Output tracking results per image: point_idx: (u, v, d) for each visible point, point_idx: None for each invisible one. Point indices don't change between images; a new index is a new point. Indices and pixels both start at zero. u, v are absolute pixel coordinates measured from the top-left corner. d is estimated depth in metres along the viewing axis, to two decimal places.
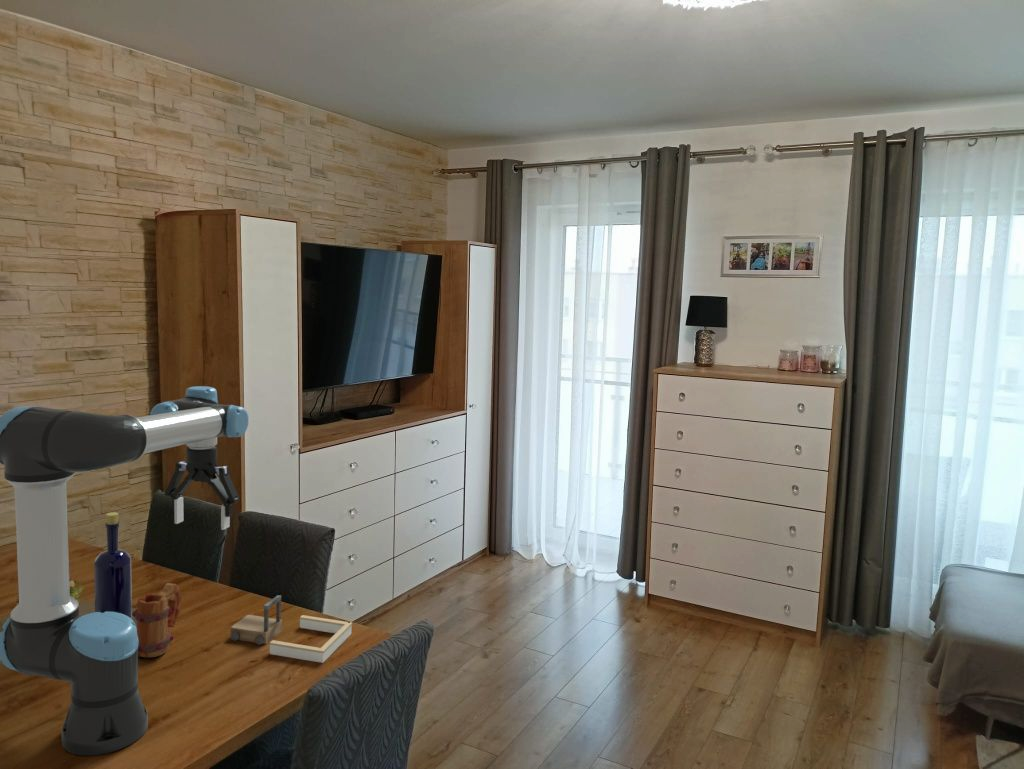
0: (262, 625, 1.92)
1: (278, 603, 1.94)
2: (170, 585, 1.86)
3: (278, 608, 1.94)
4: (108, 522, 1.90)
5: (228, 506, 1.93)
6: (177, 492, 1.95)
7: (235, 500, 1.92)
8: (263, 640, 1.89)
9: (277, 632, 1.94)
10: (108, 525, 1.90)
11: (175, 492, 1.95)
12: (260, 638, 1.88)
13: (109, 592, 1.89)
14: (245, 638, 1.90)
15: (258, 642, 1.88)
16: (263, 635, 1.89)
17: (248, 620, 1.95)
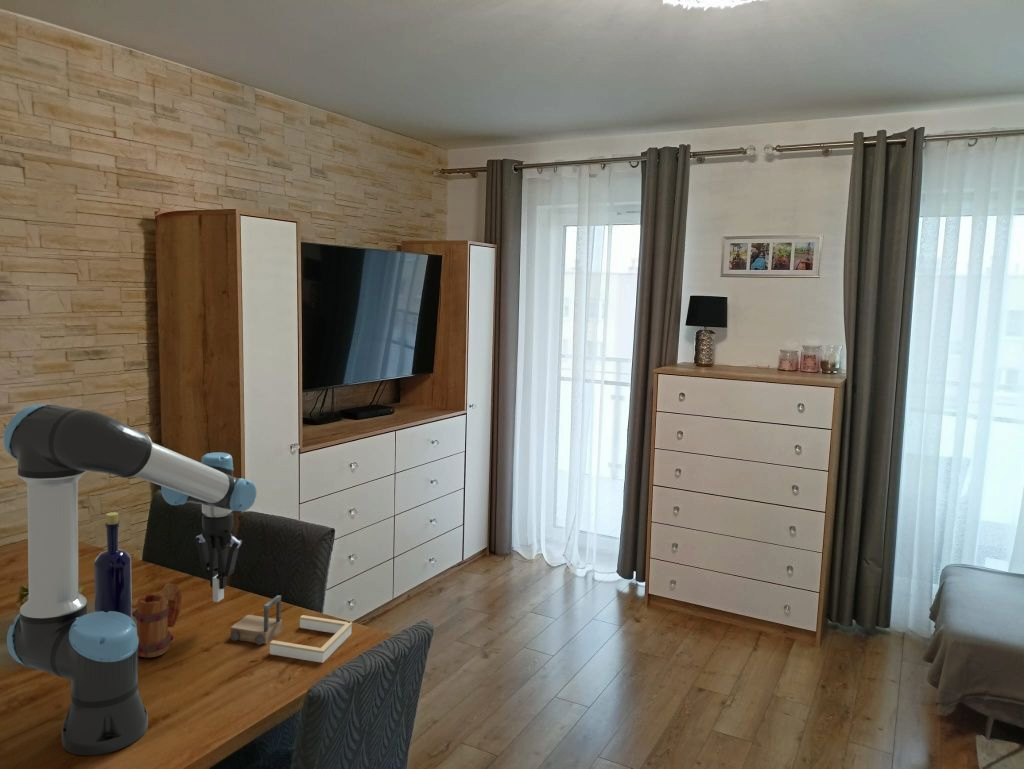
0: (262, 625, 1.92)
1: (278, 603, 1.94)
2: (170, 585, 1.86)
3: (278, 608, 1.94)
4: (108, 522, 1.90)
5: (222, 578, 1.94)
6: (211, 567, 1.93)
7: (229, 573, 1.93)
8: (263, 641, 1.89)
9: (277, 632, 1.94)
10: (108, 525, 1.90)
11: (210, 569, 1.93)
12: (260, 638, 1.88)
13: (109, 592, 1.89)
14: (245, 638, 1.90)
15: (258, 642, 1.88)
16: (263, 635, 1.89)
17: (248, 620, 1.95)
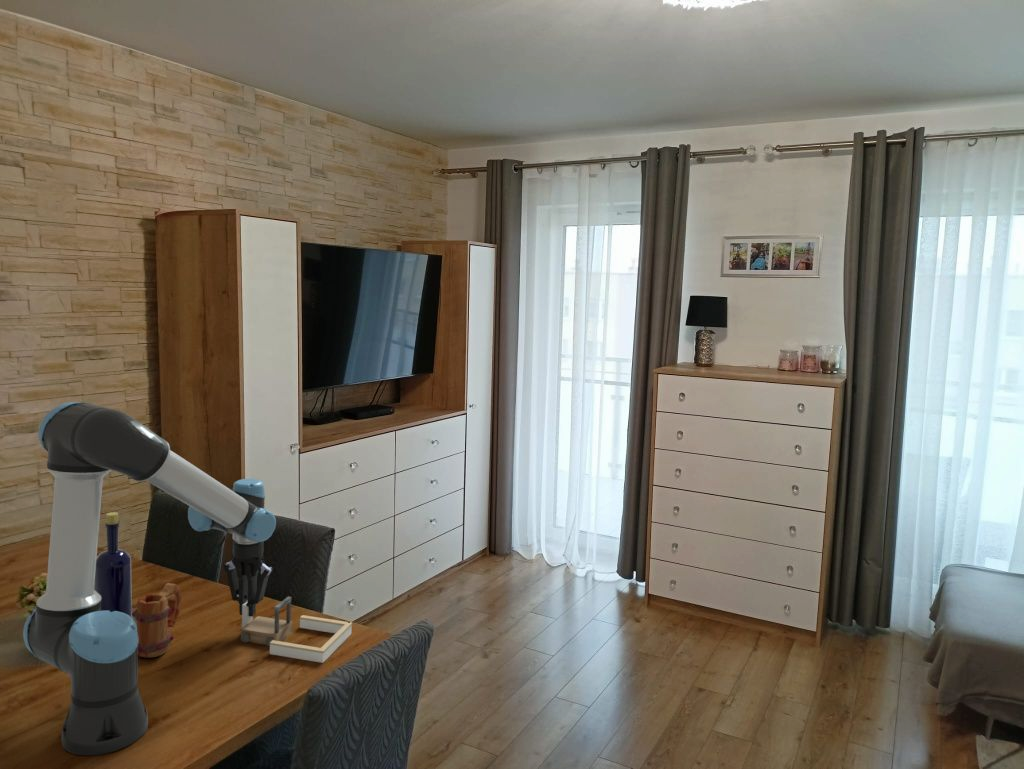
0: (272, 627, 1.92)
1: (288, 605, 1.94)
2: (170, 585, 1.85)
3: (288, 609, 1.94)
4: (108, 522, 1.90)
5: (252, 606, 1.92)
6: (241, 594, 1.92)
7: (259, 600, 1.92)
8: None
9: (287, 634, 1.93)
10: (108, 525, 1.90)
11: (239, 596, 1.92)
12: (271, 640, 1.87)
13: (109, 592, 1.89)
14: (255, 640, 1.89)
15: (269, 644, 1.88)
16: (274, 637, 1.88)
17: (258, 621, 1.94)
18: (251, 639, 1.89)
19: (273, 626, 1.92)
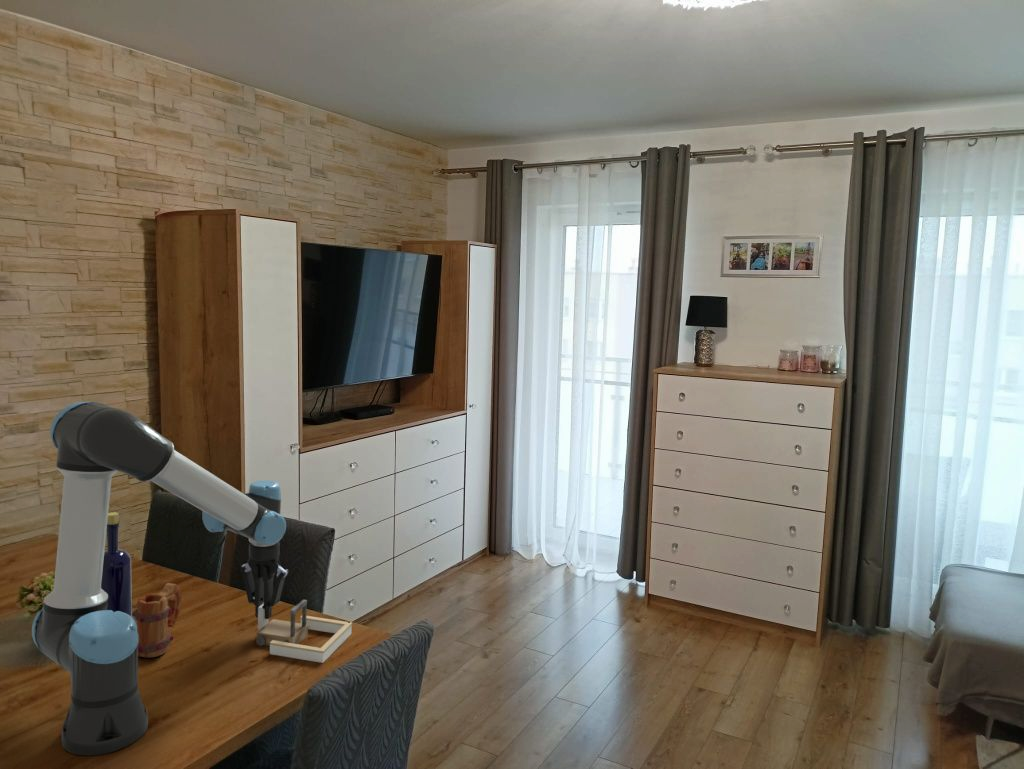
0: (288, 630, 1.90)
1: (304, 608, 1.92)
2: (170, 585, 1.85)
3: (304, 612, 1.93)
4: (108, 522, 1.90)
5: (268, 608, 1.91)
6: (257, 597, 1.91)
7: (275, 603, 1.91)
8: None
9: (303, 637, 1.92)
10: (108, 525, 1.90)
11: (255, 598, 1.91)
12: None
13: (109, 592, 1.89)
14: None
15: None
16: (290, 640, 1.87)
17: (273, 624, 1.93)
18: (267, 642, 1.88)
19: (289, 629, 1.91)
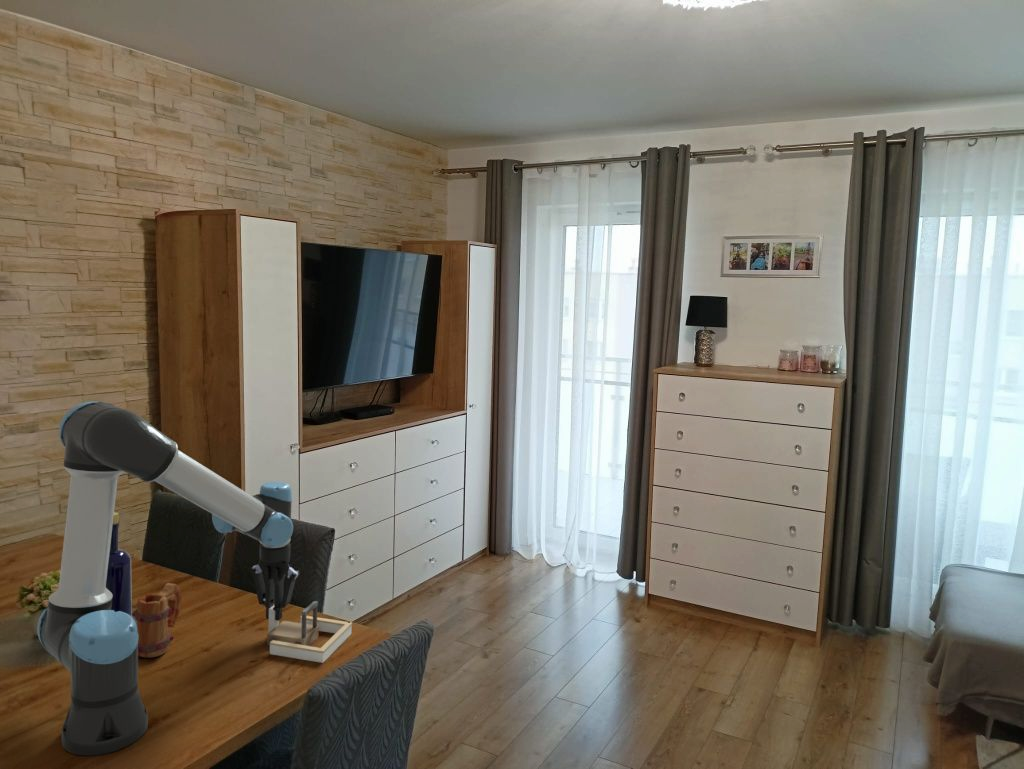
0: (299, 631, 1.90)
1: (315, 609, 1.92)
2: (170, 585, 1.86)
3: (315, 614, 1.92)
4: None
5: (278, 610, 1.91)
6: (268, 598, 1.90)
7: (286, 604, 1.90)
8: None
9: (314, 638, 1.92)
10: None
11: (266, 600, 1.91)
12: None
13: None
14: None
15: None
16: (301, 642, 1.86)
17: (284, 626, 1.93)
18: None
19: (300, 631, 1.90)
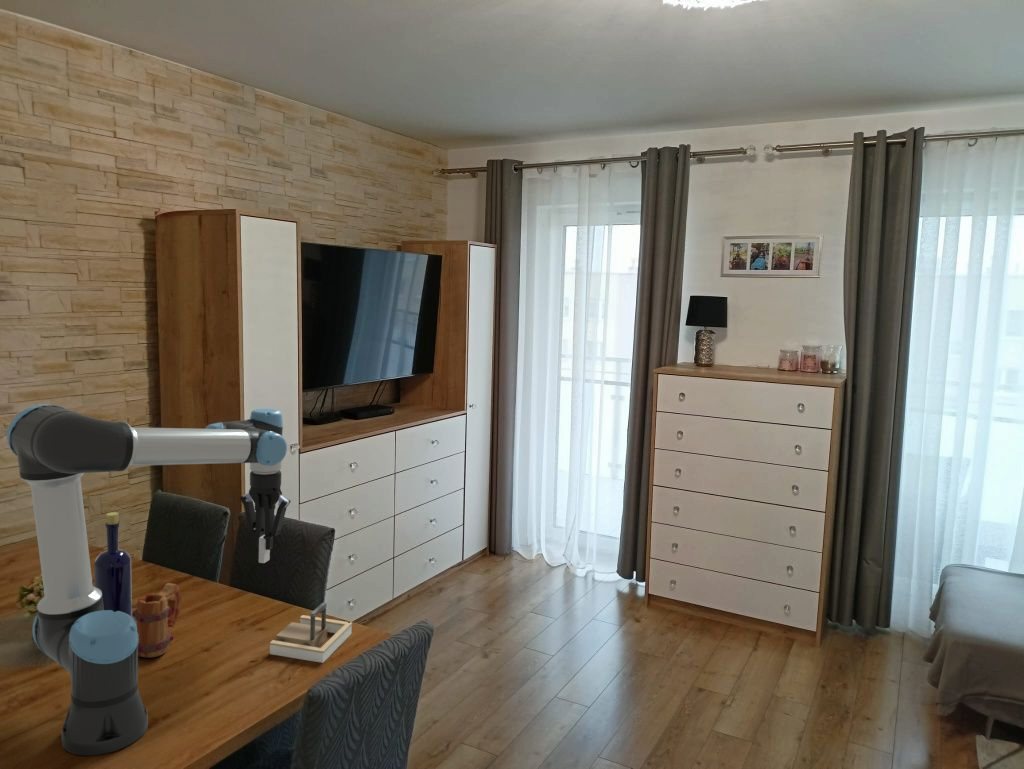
0: (308, 633, 1.89)
1: (323, 611, 1.91)
2: (170, 585, 1.85)
3: (323, 615, 1.91)
4: (108, 522, 1.90)
5: (269, 539, 1.88)
6: (258, 527, 1.88)
7: (276, 533, 1.88)
8: None
9: (322, 640, 1.91)
10: (108, 525, 1.90)
11: (256, 528, 1.88)
12: None
13: (109, 592, 1.89)
14: None
15: None
16: (309, 643, 1.86)
17: (293, 627, 1.92)
18: None
19: (308, 632, 1.90)
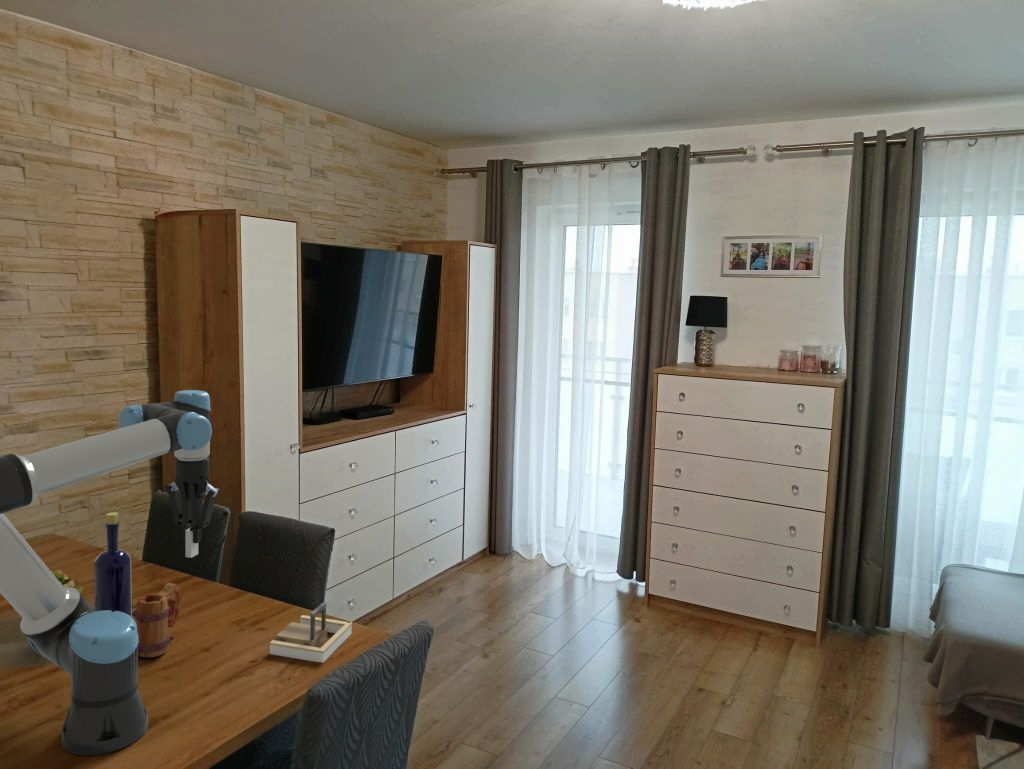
0: (308, 633, 1.89)
1: (323, 611, 1.91)
2: (170, 585, 1.86)
3: (323, 615, 1.91)
4: (108, 522, 1.90)
5: (196, 531, 1.74)
6: (184, 518, 1.73)
7: (204, 525, 1.73)
8: None
9: (322, 640, 1.91)
10: (108, 525, 1.90)
11: (183, 520, 1.74)
12: None
13: (109, 592, 1.89)
14: None
15: None
16: (309, 643, 1.86)
17: (293, 627, 1.92)
18: None
19: (308, 632, 1.90)
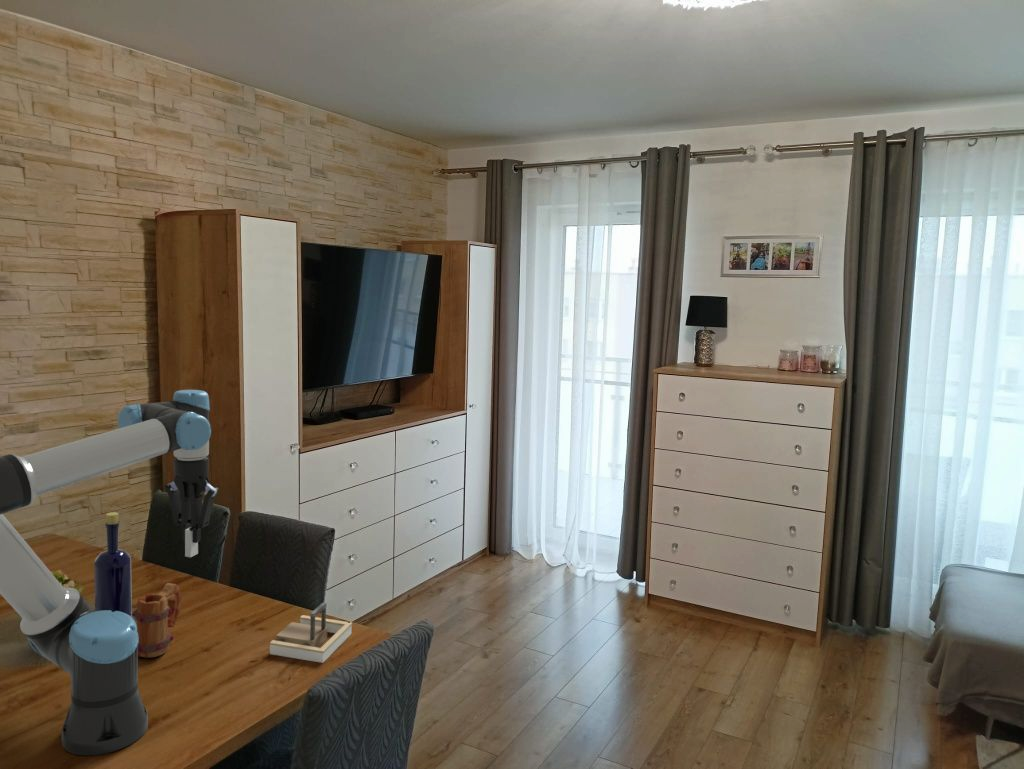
0: (308, 633, 1.89)
1: (323, 611, 1.91)
2: (170, 585, 1.85)
3: (323, 615, 1.91)
4: (108, 522, 1.90)
5: (196, 531, 1.74)
6: (184, 518, 1.73)
7: (203, 524, 1.73)
8: None
9: (322, 640, 1.91)
10: (108, 525, 1.90)
11: (182, 520, 1.73)
12: None
13: (109, 592, 1.89)
14: None
15: None
16: (309, 643, 1.86)
17: (293, 627, 1.92)
18: None
19: (308, 632, 1.90)
